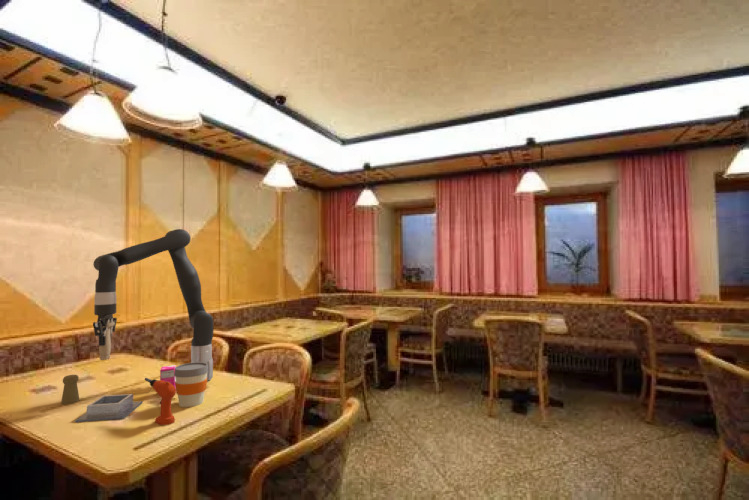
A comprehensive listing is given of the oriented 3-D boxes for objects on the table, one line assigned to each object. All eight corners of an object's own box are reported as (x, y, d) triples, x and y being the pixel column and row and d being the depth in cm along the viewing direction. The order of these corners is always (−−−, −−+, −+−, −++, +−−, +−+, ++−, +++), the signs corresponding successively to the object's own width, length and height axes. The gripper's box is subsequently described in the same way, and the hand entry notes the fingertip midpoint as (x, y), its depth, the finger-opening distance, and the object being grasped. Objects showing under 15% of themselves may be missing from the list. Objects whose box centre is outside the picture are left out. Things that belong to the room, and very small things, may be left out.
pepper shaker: (83, 400, 159) (83, 373, 160) (67, 405, 153) (67, 377, 154) (73, 398, 161) (73, 372, 162) (57, 403, 155) (57, 376, 156)
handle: (115, 358, 157) (115, 322, 157) (96, 361, 152) (97, 324, 153) (112, 356, 160) (112, 321, 161) (94, 359, 155) (94, 323, 156)
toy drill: (149, 407, 146) (152, 369, 145) (177, 423, 136) (181, 383, 136) (136, 412, 141) (139, 372, 141) (164, 429, 132) (167, 386, 131)
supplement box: (161, 392, 168) (161, 366, 168) (176, 390, 170) (176, 364, 171) (159, 396, 163) (160, 369, 163) (175, 394, 165) (175, 367, 165)
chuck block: (142, 403, 155) (142, 391, 155) (123, 418, 139) (123, 405, 139) (99, 406, 152) (99, 394, 152) (75, 422, 136) (75, 409, 136)
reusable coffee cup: (173, 411, 146) (174, 372, 146) (174, 401, 157) (174, 364, 157) (209, 405, 151) (209, 367, 152) (207, 395, 162) (207, 360, 163)
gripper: (106, 304, 150) (105, 347, 150) (123, 301, 165) (123, 340, 164) (85, 305, 149) (84, 348, 149) (105, 301, 163) (104, 341, 163)
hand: (105, 344), depth 156 cm, fingers closed on handle, 4 cm apart
